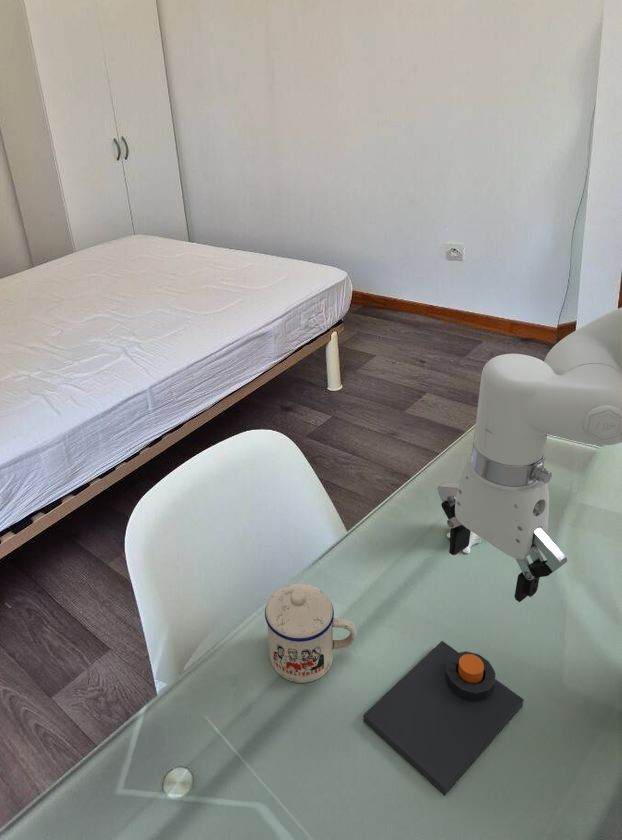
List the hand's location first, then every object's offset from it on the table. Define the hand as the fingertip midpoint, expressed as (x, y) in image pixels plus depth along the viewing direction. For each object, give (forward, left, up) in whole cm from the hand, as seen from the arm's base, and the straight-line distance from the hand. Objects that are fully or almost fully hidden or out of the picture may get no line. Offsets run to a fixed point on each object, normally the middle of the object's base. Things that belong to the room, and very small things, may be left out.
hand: (490, 571), depth 86 cm
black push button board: (-2, +11, -15) cm, 19 cm away
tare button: (-2, +5, -13) cm, 14 cm away
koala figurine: (+14, -17, -15) cm, 27 cm away
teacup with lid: (+15, +17, -15) cm, 27 cm away
